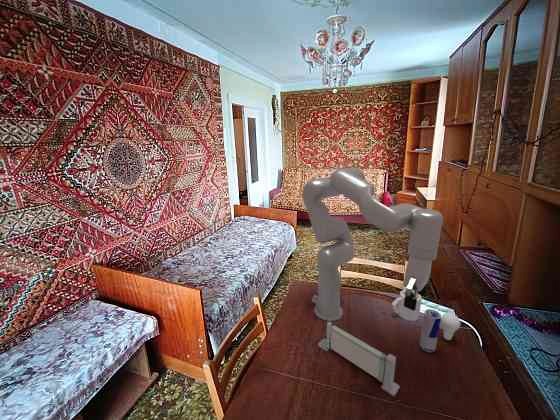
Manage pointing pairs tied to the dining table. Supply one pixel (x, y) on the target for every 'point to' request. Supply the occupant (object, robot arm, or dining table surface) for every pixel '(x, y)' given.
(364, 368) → the bar
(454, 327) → the lightbulb
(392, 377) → the gate posts
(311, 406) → the dining table surface
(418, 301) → the mug
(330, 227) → the robot arm
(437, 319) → the beverage can
